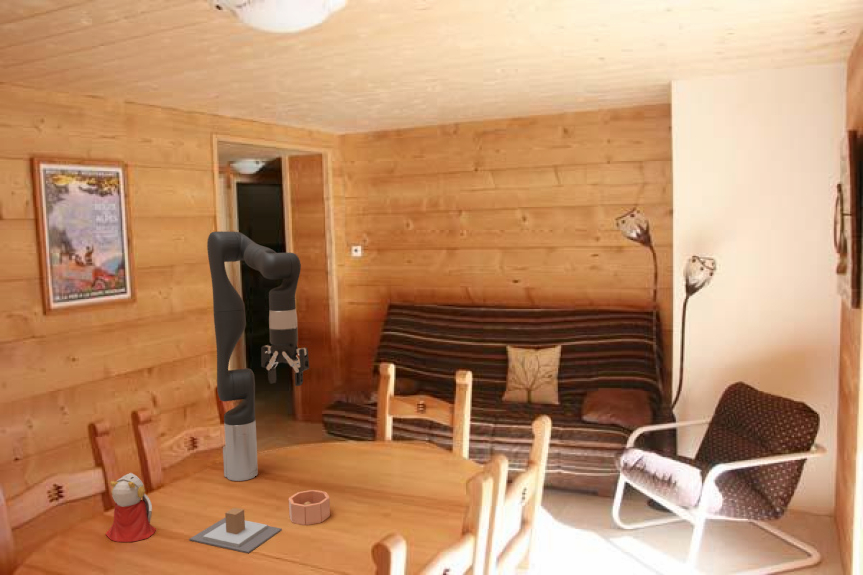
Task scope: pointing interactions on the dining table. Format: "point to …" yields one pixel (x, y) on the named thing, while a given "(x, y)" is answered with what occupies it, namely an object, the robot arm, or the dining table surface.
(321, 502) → the bowl
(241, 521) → the lid
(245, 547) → the mat
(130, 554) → the dining table surface
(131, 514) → the figurine
